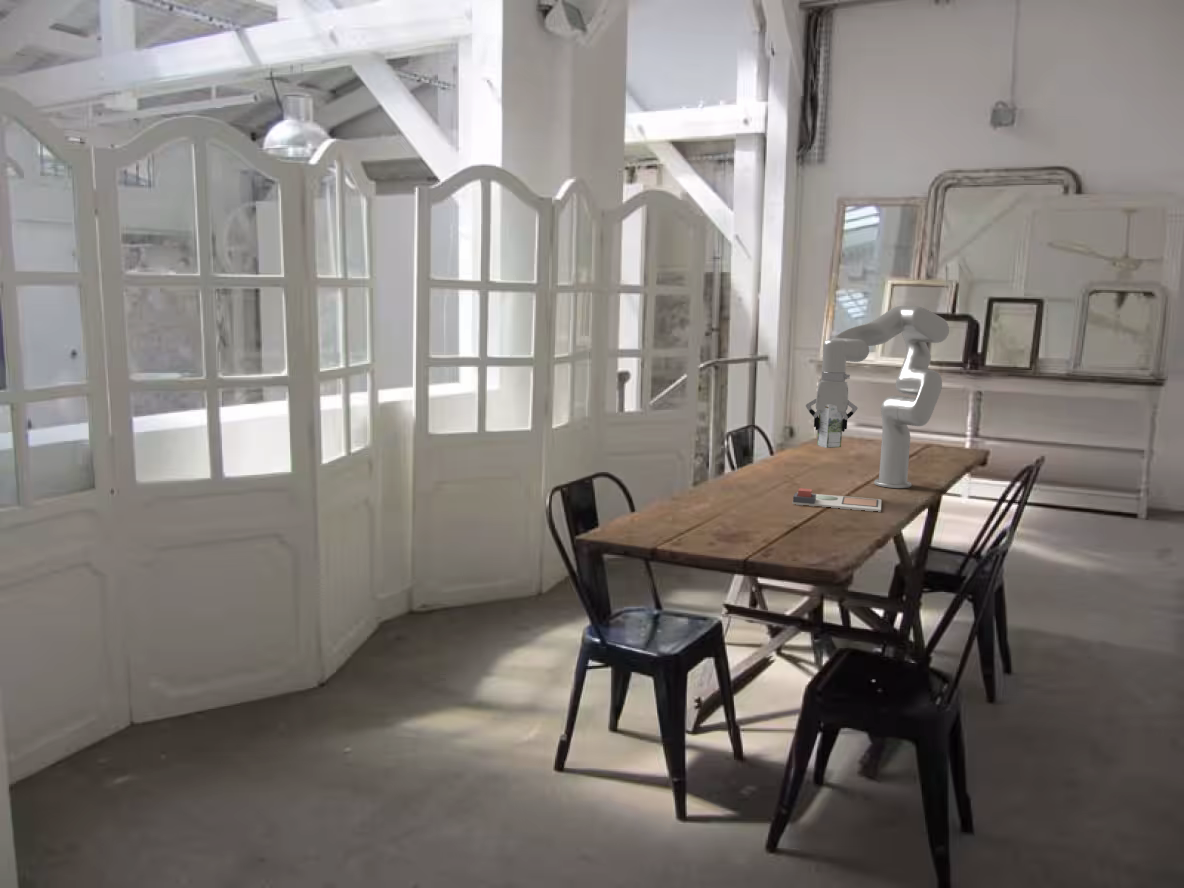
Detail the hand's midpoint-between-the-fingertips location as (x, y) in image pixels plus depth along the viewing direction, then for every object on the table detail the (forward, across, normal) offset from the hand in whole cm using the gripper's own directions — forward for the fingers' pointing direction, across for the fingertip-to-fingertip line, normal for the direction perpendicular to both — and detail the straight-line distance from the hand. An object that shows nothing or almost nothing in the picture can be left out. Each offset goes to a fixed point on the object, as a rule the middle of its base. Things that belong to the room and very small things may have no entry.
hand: (830, 430), depth 324 cm
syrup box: (+6, 0, 0) cm, 6 cm away
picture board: (+22, -4, +12) cm, 25 cm away
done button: (+19, +5, +17) cm, 26 cm away
